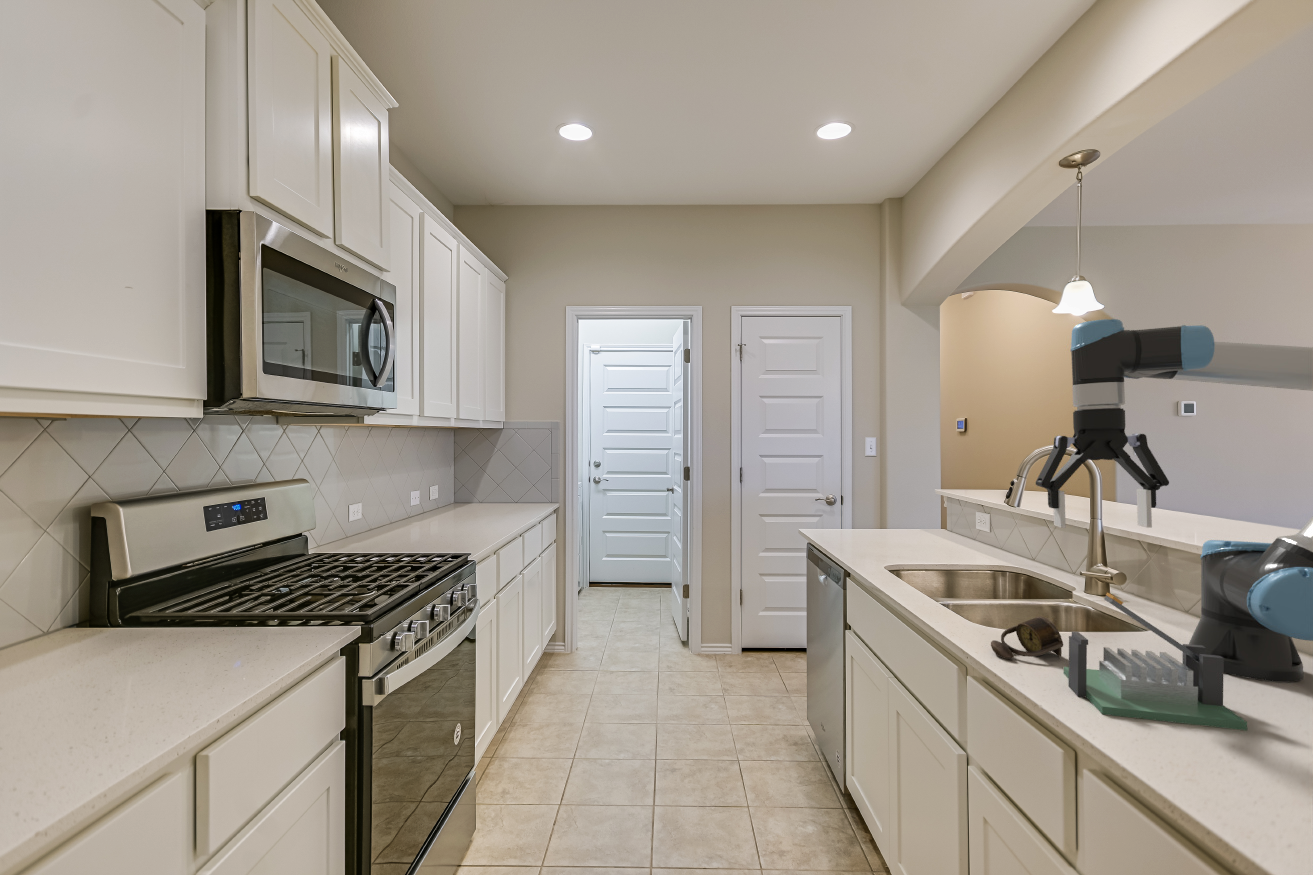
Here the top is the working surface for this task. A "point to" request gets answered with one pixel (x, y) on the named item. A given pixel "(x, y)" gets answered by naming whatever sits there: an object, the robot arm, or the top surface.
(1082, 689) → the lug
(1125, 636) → the top surface
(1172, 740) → the top surface
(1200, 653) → the grey u-bracket
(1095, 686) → the board
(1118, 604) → the strap
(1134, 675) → the heatsink
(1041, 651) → the antique brown clock
